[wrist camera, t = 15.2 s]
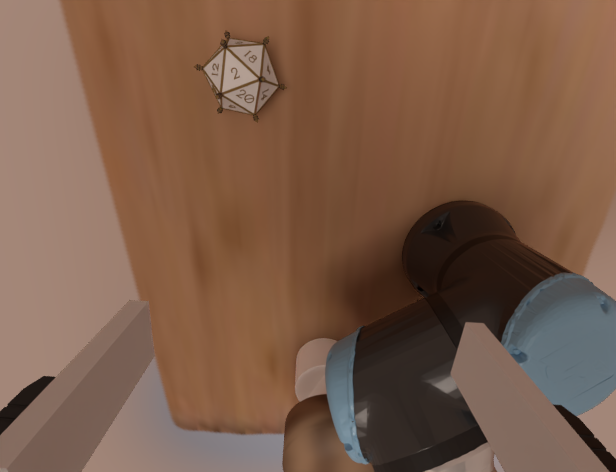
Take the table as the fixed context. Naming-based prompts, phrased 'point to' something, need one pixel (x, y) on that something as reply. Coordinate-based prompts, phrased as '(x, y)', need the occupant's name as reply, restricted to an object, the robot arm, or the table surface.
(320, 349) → the white stepped block
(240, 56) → the game die
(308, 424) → the walnut lid
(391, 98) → the table surface
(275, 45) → the table surface
